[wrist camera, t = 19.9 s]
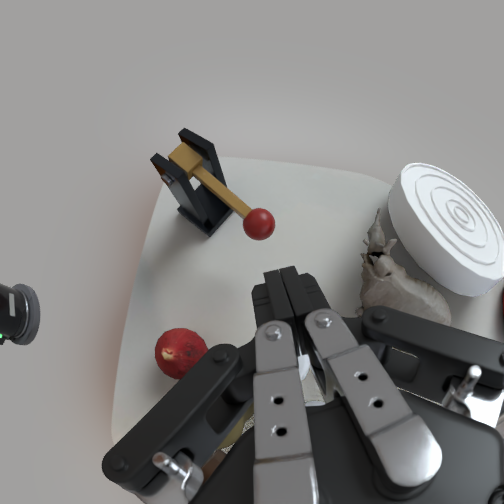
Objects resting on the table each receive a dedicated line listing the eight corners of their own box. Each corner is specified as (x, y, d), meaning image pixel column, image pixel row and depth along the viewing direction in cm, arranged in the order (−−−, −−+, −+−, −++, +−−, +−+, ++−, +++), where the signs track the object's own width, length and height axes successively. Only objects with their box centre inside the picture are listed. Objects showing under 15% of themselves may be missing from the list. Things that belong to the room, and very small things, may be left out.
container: (497, 312, 19) (470, 332, 23) (515, 237, 28) (498, 254, 32) (372, 181, 28) (356, 211, 31) (429, 153, 36) (418, 174, 40)
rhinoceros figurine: (404, 392, 25) (431, 314, 17) (338, 323, 36) (326, 235, 28) (446, 351, 27) (479, 262, 18) (379, 294, 38) (378, 205, 29)
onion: (214, 330, 33) (196, 326, 25) (215, 377, 31) (196, 386, 23) (169, 329, 33) (140, 324, 25) (169, 374, 31) (140, 381, 24)
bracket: (239, 204, 38) (223, 143, 25) (209, 237, 36) (178, 186, 24) (208, 182, 39) (182, 121, 27) (179, 213, 38) (141, 159, 26)
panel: (218, 518, 24) (213, 529, 21) (164, 480, 26) (156, 489, 23) (266, 481, 26) (265, 492, 23) (208, 440, 28) (202, 448, 25)
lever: (276, 226, 30) (285, 220, 27) (257, 248, 29) (264, 244, 26) (187, 150, 29) (186, 136, 26) (167, 169, 28) (163, 157, 25)
